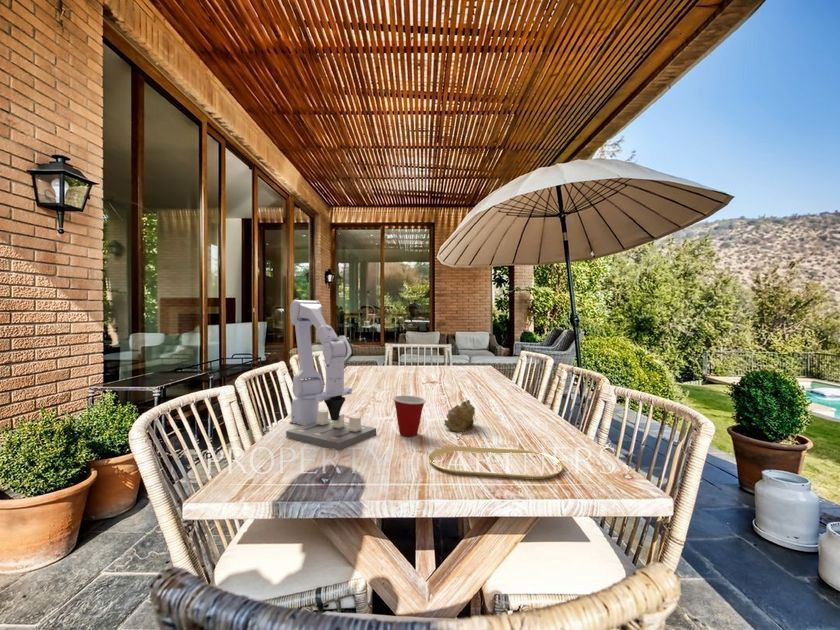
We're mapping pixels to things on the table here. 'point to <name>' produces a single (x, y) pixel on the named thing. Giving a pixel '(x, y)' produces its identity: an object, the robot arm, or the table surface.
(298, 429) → the switch panel
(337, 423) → the switch
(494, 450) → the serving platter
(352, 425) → the right switch
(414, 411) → the plastic cup
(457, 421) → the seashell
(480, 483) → the table surface
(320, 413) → the left switch
